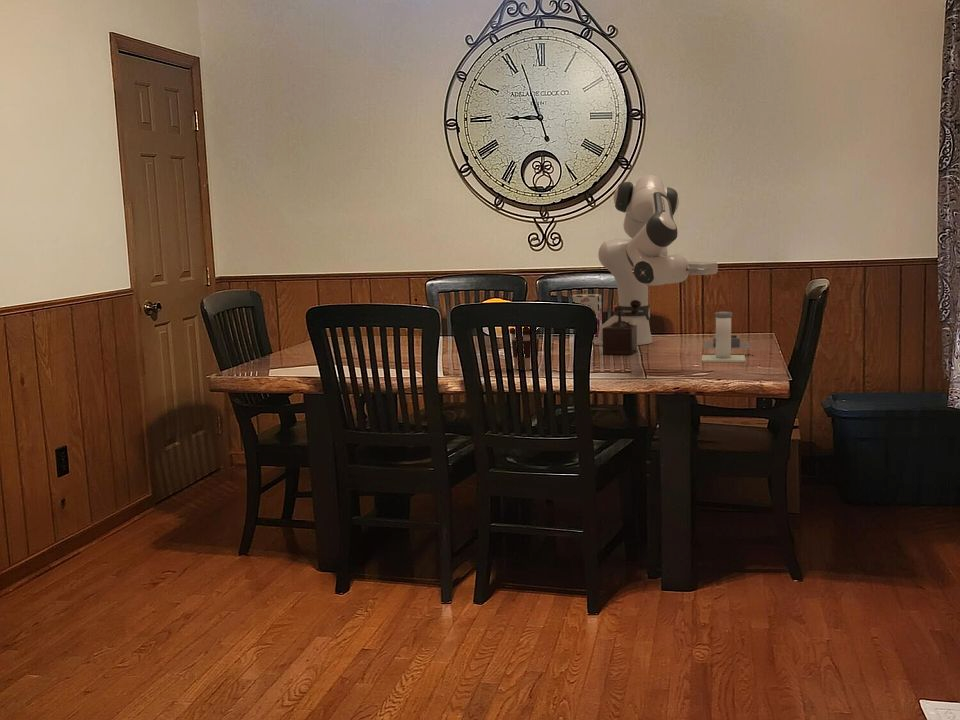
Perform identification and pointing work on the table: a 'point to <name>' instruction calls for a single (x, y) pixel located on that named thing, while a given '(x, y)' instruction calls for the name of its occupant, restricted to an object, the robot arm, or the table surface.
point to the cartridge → (723, 334)
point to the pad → (714, 359)
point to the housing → (734, 343)
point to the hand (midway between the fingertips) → (701, 265)
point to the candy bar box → (592, 301)
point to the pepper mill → (621, 334)
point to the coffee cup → (526, 346)
